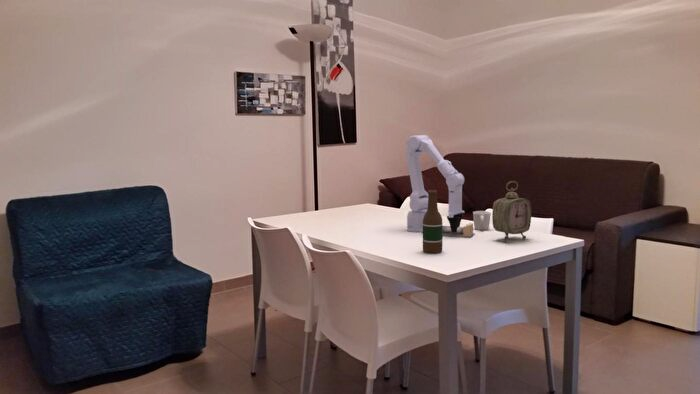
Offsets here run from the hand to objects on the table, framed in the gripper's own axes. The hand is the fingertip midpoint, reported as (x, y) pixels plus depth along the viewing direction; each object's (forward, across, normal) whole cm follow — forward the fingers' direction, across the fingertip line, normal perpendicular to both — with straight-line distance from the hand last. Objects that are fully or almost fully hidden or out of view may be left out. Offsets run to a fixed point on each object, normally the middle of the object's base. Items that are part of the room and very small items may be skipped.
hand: (455, 231), depth 243 cm
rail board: (+2, 0, +2) cm, 2 cm away
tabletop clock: (+2, -2, -24) cm, 24 cm away
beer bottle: (+2, -34, 0) cm, 34 cm away
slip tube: (+2, 0, +1) cm, 2 cm away
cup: (+2, +16, -8) cm, 18 cm away
